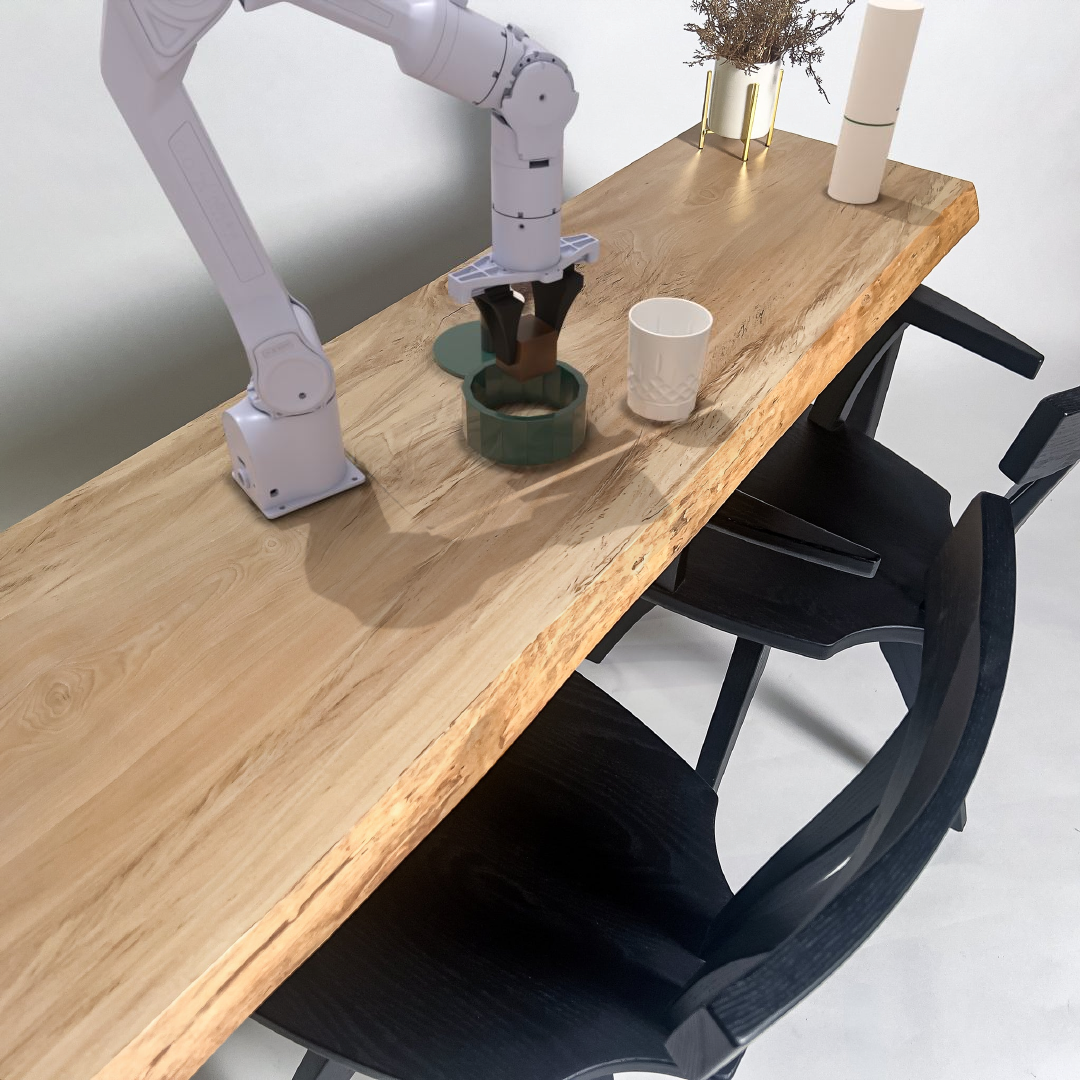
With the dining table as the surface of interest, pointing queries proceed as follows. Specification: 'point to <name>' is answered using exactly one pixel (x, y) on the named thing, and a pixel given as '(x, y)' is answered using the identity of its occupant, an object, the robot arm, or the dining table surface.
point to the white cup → (666, 357)
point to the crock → (518, 434)
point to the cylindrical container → (874, 98)
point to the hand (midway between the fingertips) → (525, 353)
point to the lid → (464, 347)
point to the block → (533, 349)
